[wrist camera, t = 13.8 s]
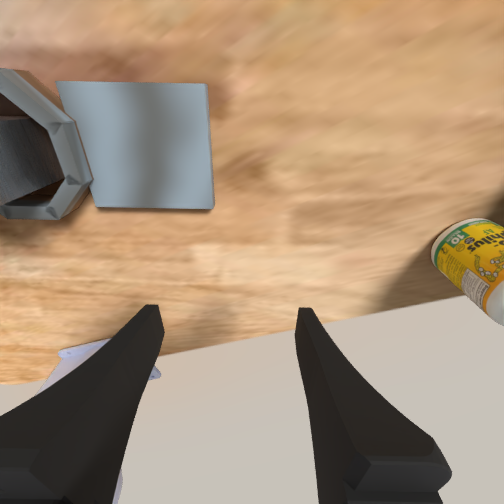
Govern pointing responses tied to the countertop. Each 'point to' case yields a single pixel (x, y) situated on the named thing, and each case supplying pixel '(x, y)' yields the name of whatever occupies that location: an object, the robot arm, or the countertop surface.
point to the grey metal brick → (25, 158)
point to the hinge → (118, 144)
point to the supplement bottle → (474, 262)
